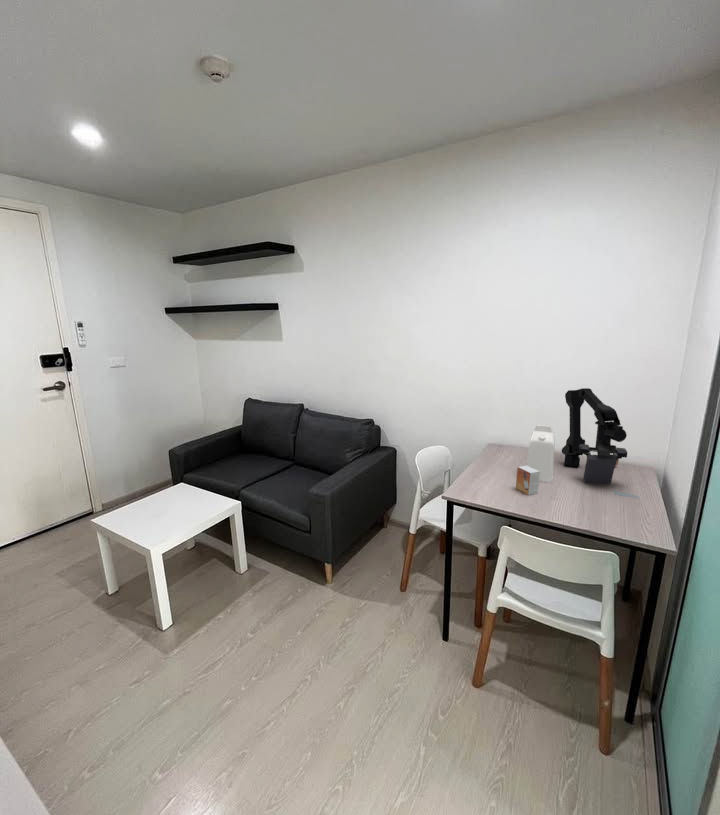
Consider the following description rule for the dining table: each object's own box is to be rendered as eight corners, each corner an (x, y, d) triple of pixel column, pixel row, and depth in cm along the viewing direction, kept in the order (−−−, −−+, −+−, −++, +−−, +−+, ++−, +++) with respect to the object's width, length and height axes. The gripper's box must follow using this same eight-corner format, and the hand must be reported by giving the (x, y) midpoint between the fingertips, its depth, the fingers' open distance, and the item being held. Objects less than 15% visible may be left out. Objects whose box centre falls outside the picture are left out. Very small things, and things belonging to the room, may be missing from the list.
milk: (552, 475, 197) (558, 424, 192) (552, 483, 187) (557, 430, 182) (526, 471, 202) (531, 421, 197) (524, 479, 192) (529, 427, 187)
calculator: (607, 478, 187) (613, 453, 179) (611, 484, 183) (617, 459, 176) (582, 478, 189) (586, 453, 181) (585, 484, 185) (590, 459, 178)
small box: (515, 488, 182) (517, 466, 179) (524, 486, 184) (526, 465, 181) (528, 495, 174) (530, 472, 172) (538, 493, 176) (540, 471, 174)
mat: (614, 495, 174) (614, 494, 174) (611, 484, 185) (611, 483, 185) (638, 499, 170) (638, 498, 170) (634, 487, 181) (634, 487, 181)
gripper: (581, 438, 178) (578, 471, 181) (631, 442, 170) (626, 477, 173) (580, 432, 188) (577, 463, 191) (627, 436, 180) (623, 469, 183)
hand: (600, 468), depth 184 cm, fingers open, 8 cm apart
